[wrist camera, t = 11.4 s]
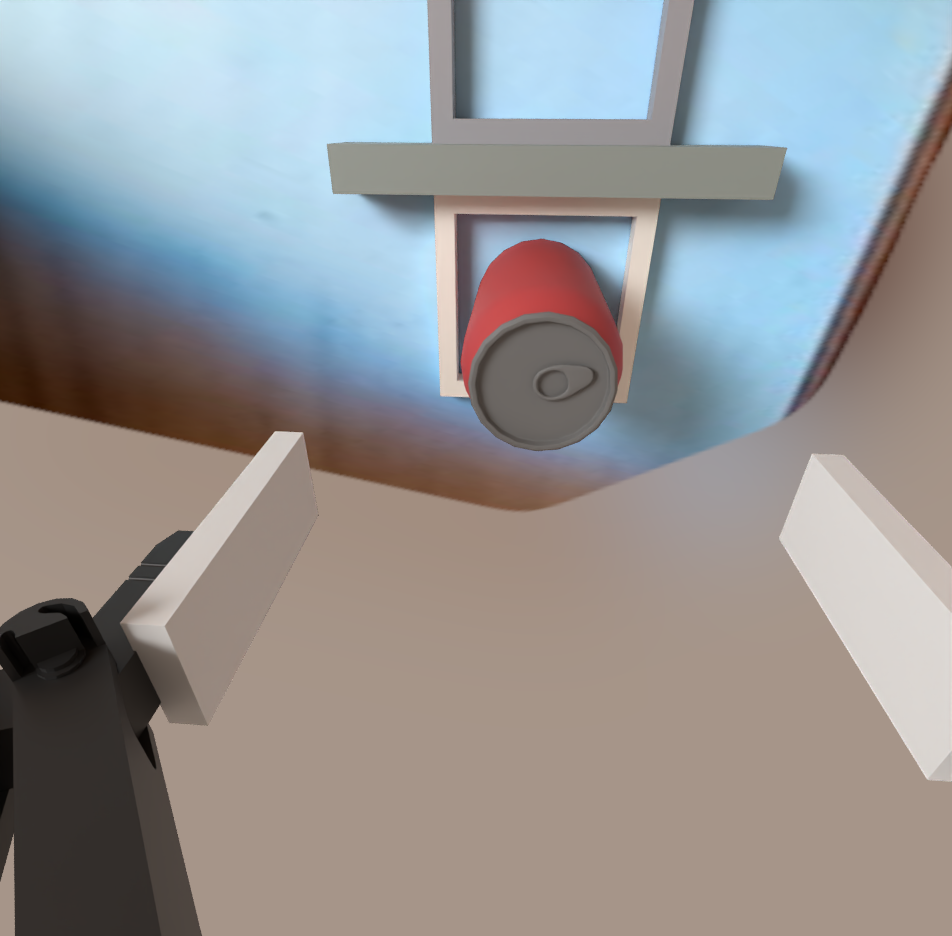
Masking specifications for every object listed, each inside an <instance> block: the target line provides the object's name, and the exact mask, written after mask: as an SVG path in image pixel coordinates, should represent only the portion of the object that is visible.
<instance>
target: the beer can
mask: <svg viewBox="0 0 952 936" xmlns="http://www.w3.org/2000/svg"><path fill="white" fill-rule="evenodd" d="M460 362H461V368H462V374H463V381H464V386H465V389H466V392H467V394H468V395H469V397H470V399H471V405H472V407H473V408H474V410H475V412H476V414H477V416H478V418H479V420H480V422H481V423H482V424H483V425H484V426H485V427H486V428H487V429H488V430H489V431H490V432H491V433H492V434H493V435H494V436H495V437H497V438H499V439H501V440H503V441H504V442H506V443H508V444H510V445H512V446H514V447H518V448H523V449H528V450H534V451H543V450H556V449H561V448H563V447H566V446H569V445H572V444H574V443H577V442H579V441H581V440H582V439H584V438H585V437H586V436H588V435H589V434H591V433H592V432H593V431H595V430H596V429H597V428H598V427H599V426H600V424H601V423H602V422H603V420H604V419H605V418H606V416H607V415H608V414H609V412H610V411H611V408H612V405H613V402H614V400H615V397H616V394H617V391H618V384H619V382H620V379H621V376H622V370H623V344H622V341H621V338H620V335H619V332H618V329H617V327H616V324H615V321H614V319H613V317H612V314H611V312H610V310H609V308H608V305H607V303H606V301H605V299H604V296H603V294H602V292H601V290H600V287H599V285H598V283H597V281H596V278H595V276H594V274H593V272H592V270H591V268H590V266H589V265H588V264H587V263H586V262H585V260H584V259H583V258H582V257H581V255H580V254H579V253H578V252H576V251H574V250H573V249H571V248H569V247H568V246H566V245H564V244H563V243H560V242H555V241H550V240H545V239H538V240H530V241H523V242H520V243H518V244H516V245H514V246H512V247H510V248H508V249H506V250H504V251H503V252H502V253H501V254H500V255H499V256H498V257H497V258H496V259H495V260H494V261H493V262H492V263H491V264H490V265H489V267H488V269H487V271H486V273H485V274H484V276H483V278H482V280H481V282H480V286H479V289H478V293H477V296H476V299H475V303H474V306H473V310H472V313H471V317H470V320H469V324H468V327H467V331H466V334H465V337H464V343H463V349H462V355H461V361H460Z"/></svg>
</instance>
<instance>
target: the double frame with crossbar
mask: <svg viewBox="0 0 952 936" xmlns="http://www.w3.org/2000/svg"><path fill="white" fill-rule="evenodd" d="M427 3H428V33H429V64H430V94H431V124H432V143H376V142H343V143H333V144H327V149H328V157H329V166H330V174H331V182H332V190H333V194H387V195H434V216H435V246H436V276H437V307H438V337H439V368H440V396H449V397H469V395H468V394H467V392H466V389H465V386H464V381H463V374H462V373H459V340H458V262H457V214H505V215H567V216H629V217H632V224H631V231H630V238H629V245H628V252H627V259H626V265H625V272H624V279H623V286H622V293H621V300H620V307H619V314H618V321H617V329H618V332H619V335H620V338H621V341H622V344H623V370H622V376H621V379H620V382H619V384H618V391H617V394H616V397H615V400H614V402H613V403H627V398H628V392H629V386H630V380H631V374H632V368H633V362H634V357H635V351H636V345H637V339H638V333H639V327H640V321H641V315H642V309H643V303H644V297H645V291H646V285H647V279H648V273H649V267H650V261H651V255H652V249H653V243H654V237H655V231H656V225H657V220H658V214H659V208H660V202H661V198H675V199H747V200H773V199H774V195H775V191H776V187H777V184H778V180H779V176H780V172H781V169H782V165H783V161H784V158H785V154H786V150H787V148H784V147H773V146H760V145H670V142H671V136H672V130H673V124H674V118H675V112H676V106H677V100H678V94H679V88H680V83H681V77H682V71H683V65H684V59H685V53H686V47H687V41H688V35H689V29H690V23H691V17H692V11H693V5H694V0H664V3H663V10H662V17H661V24H660V31H659V38H658V45H657V52H656V59H655V65H654V72H653V79H652V86H651V93H650V100H649V107H648V114H647V120H636V119H456V105H455V27H454V0H427Z"/></svg>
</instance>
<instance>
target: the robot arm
mask: <svg viewBox="0 0 952 936" xmlns="http://www.w3.org/2000/svg"><path fill="white" fill-rule="evenodd" d="M317 517H318V509H317V504H316V499H315V494H314V488H313V483H312V477H311V472H310V466H309V461H308V456H307V450H306V445H305V440H304V434H303V432H281V431H275V432H274V433H273V435H272V436H271V437H270V438H269V439H268V441H267V442H266V443H265V444H264V446H263V447H262V448H261V449H260V451H259V452H258V453H257V454H256V456H255V457H254V458H253V459H252V460H251V462H250V463H249V464H248V465H247V467H246V468H245V469H244V470H243V472H242V473H241V474H240V475H239V477H238V478H237V479H236V480H235V482H234V483H233V484H232V485H231V487H230V488H229V489H228V490H227V491H226V493H225V494H224V495H223V496H222V498H221V499H220V500H219V501H218V503H217V504H216V505H215V506H214V507H213V509H212V510H211V511H210V512H209V514H208V515H207V516H206V517H205V519H204V520H203V521H202V522H201V524H200V525H199V526H198V527H197V528H196V530H195V531H177V532H175V533H174V534H172V535H171V536H169V537H168V538H166V539H165V540H163V541H162V542H160V543H159V544H157V545H156V546H155V547H154V548H153V550H152V551H151V552H150V553H149V554H148V555H147V556H146V557H145V559H144V560H143V561H142V562H141V566H138V567H137V568H136V569H135V570H134V571H133V572H132V574H131V575H130V576H129V580H126V581H125V582H124V583H123V584H122V585H121V586H120V587H119V588H118V590H117V591H116V592H115V593H114V594H113V595H112V597H111V598H110V599H109V600H108V601H107V602H106V603H105V604H104V606H103V607H102V608H101V609H100V610H99V611H98V613H97V614H96V615H95V616H94V617H93V618H92V617H91V615H90V613H89V611H88V609H87V608H86V606H85V604H84V603H83V602H81V601H78V600H76V599H73V598H68V599H67V598H66V599H65V598H63V599H54V600H49V601H46V602H42V603H38V604H36V605H34V606H32V607H30V608H27V609H25V610H23V611H21V612H19V613H18V614H16V615H15V616H13V617H12V618H11V619H9V620H8V621H7V622H5V623H4V624H3V625H2V626H1V627H0V665H1V666H2V668H3V669H2V670H0V880H1V877H2V873H3V870H4V866H5V863H6V859H7V855H8V852H9V848H10V845H11V841H12V837H13V834H14V876H15V877H14V878H15V879H14V880H15V936H202V934H201V930H200V926H199V922H198V918H197V914H196V910H195V906H194V901H193V897H192V893H191V888H190V885H189V880H188V876H187V872H186V868H185V863H184V859H183V855H182V851H181V847H180V843H179V838H178V834H177V830H176V826H175V822H174V817H173V813H172V809H171V805H170V801H169V797H168V792H167V788H166V784H165V780H164V776H163V772H162V767H161V763H160V759H159V755H158V751H157V746H156V742H155V738H154V734H153V731H152V729H151V727H150V725H149V724H148V723H149V721H150V720H151V718H152V716H153V715H154V713H155V712H156V710H157V708H158V707H159V705H161V707H162V709H163V711H164V713H165V715H166V717H167V719H168V721H169V722H170V723H181V724H194V725H207V726H208V725H209V723H210V721H211V719H212V717H213V715H214V713H215V711H216V709H217V707H218V705H219V704H220V702H221V700H222V698H223V696H224V694H225V692H226V690H227V688H228V686H229V685H230V683H231V681H232V679H233V677H234V675H235V673H236V671H237V669H238V667H239V665H240V663H241V662H242V660H243V658H244V656H245V654H246V652H247V650H248V648H249V646H250V645H251V643H252V641H253V639H254V637H255V635H256V633H257V631H258V629H259V627H260V626H261V624H262V622H263V620H264V618H265V616H266V614H267V612H268V610H269V608H270V606H271V604H272V603H273V601H274V599H275V597H276V595H277V593H278V591H279V589H280V587H281V585H282V584H283V582H284V580H285V578H286V576H287V574H288V572H289V570H290V568H291V567H292V565H293V563H294V561H295V559H296V557H297V555H298V553H299V551H300V549H301V547H302V546H303V544H304V542H305V540H306V538H307V536H308V534H309V532H310V530H311V528H312V526H313V525H314V523H315V521H316V519H317ZM779 539H780V541H781V543H782V544H783V546H784V548H785V549H786V551H787V552H788V554H789V556H790V557H791V559H792V560H793V562H794V564H795V565H796V567H797V569H798V570H799V572H800V574H801V575H802V577H803V578H804V580H805V582H806V583H807V585H808V587H809V588H810V590H811V591H812V593H813V595H814V596H815V598H816V600H817V601H818V603H819V604H820V606H821V608H822V609H823V611H824V613H825V614H826V616H827V617H828V619H829V621H830V622H831V624H832V626H833V627H834V629H835V630H836V632H837V634H838V635H839V637H840V639H841V640H842V642H843V643H844V645H845V647H846V648H847V650H848V651H849V653H850V655H851V656H852V658H853V660H854V661H855V663H856V665H857V666H858V668H859V669H860V671H861V673H862V674H863V676H864V678H865V679H866V681H867V682H868V684H869V686H870V687H871V689H872V690H873V692H874V694H875V695H876V697H877V699H878V700H879V702H880V703H881V705H882V707H883V708H884V710H885V711H886V713H887V715H888V717H889V718H890V720H891V721H892V723H893V725H894V726H895V728H896V729H897V731H898V733H899V734H900V736H901V738H902V739H903V741H904V743H905V744H906V746H907V747H908V749H909V751H910V752H911V754H912V756H913V757H914V759H915V760H916V762H917V764H918V765H919V767H920V769H921V770H922V772H923V773H924V775H925V777H926V778H927V780H937V781H951V782H952V567H951V566H950V565H949V564H948V563H947V562H946V561H945V560H944V559H943V557H941V556H940V554H939V553H938V552H937V551H936V550H935V549H934V548H933V547H932V546H931V545H930V544H929V543H928V542H927V541H926V540H925V539H924V538H923V537H922V536H921V535H920V534H919V533H918V532H917V531H916V530H915V528H914V527H913V526H911V524H910V523H909V522H908V521H907V520H906V519H905V518H904V517H903V516H902V515H901V514H900V513H899V512H898V511H897V510H896V509H895V508H894V507H893V506H892V505H891V504H890V503H889V502H888V501H887V499H885V497H884V496H883V495H882V494H881V493H880V492H879V491H878V490H877V489H876V488H875V487H874V486H873V485H872V484H871V483H870V482H869V481H868V480H867V479H866V478H865V477H864V476H863V475H862V474H861V473H860V472H859V471H858V469H856V467H855V466H854V465H853V464H852V463H851V462H850V461H849V460H848V459H847V458H846V457H845V456H844V455H830V454H812V456H811V458H810V460H809V463H808V465H807V468H806V470H805V473H804V476H803V478H802V481H801V483H800V486H799V488H798V491H797V494H796V496H795V499H794V501H793V504H792V506H791V509H790V511H789V514H788V517H787V519H786V521H785V524H784V527H783V529H782V532H781V534H780V537H779Z"/></svg>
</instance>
